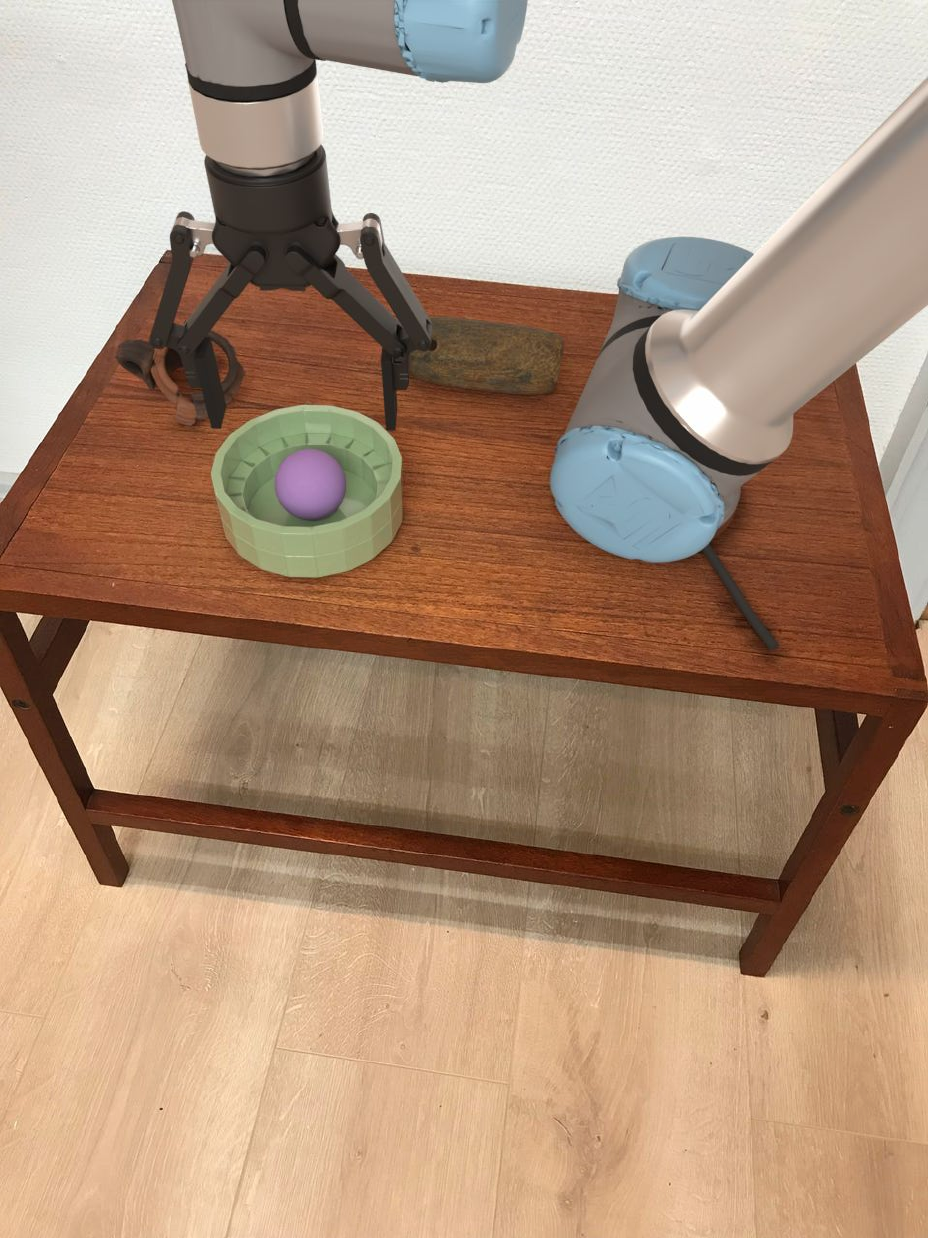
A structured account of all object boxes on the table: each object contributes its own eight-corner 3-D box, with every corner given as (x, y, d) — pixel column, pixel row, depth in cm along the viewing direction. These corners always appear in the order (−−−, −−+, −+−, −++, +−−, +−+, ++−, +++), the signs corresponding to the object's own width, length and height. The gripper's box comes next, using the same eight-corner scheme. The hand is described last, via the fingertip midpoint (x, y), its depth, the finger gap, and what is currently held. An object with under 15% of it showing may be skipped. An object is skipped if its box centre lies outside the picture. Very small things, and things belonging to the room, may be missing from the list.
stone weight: (406, 402, 96) (404, 344, 90) (412, 358, 100) (411, 300, 95) (559, 410, 95) (567, 352, 90) (559, 365, 100) (565, 308, 94)
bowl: (398, 586, 81) (396, 535, 76) (209, 581, 81) (195, 531, 76) (407, 458, 91) (405, 406, 86) (238, 454, 90) (228, 402, 86)
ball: (345, 536, 83) (340, 484, 78) (274, 533, 83) (265, 482, 78) (351, 486, 87) (347, 435, 82) (283, 484, 87) (275, 432, 82)
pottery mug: (248, 363, 100) (253, 325, 92) (234, 450, 98) (238, 419, 90) (125, 337, 97) (119, 296, 89) (108, 426, 95) (100, 392, 87)
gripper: (466, 121, 63) (464, 389, 79) (77, 118, 63) (156, 386, 79) (465, 179, 58) (463, 452, 75) (45, 175, 58) (136, 448, 75)
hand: (305, 418), depth 77 cm, fingers open, 13 cm apart
